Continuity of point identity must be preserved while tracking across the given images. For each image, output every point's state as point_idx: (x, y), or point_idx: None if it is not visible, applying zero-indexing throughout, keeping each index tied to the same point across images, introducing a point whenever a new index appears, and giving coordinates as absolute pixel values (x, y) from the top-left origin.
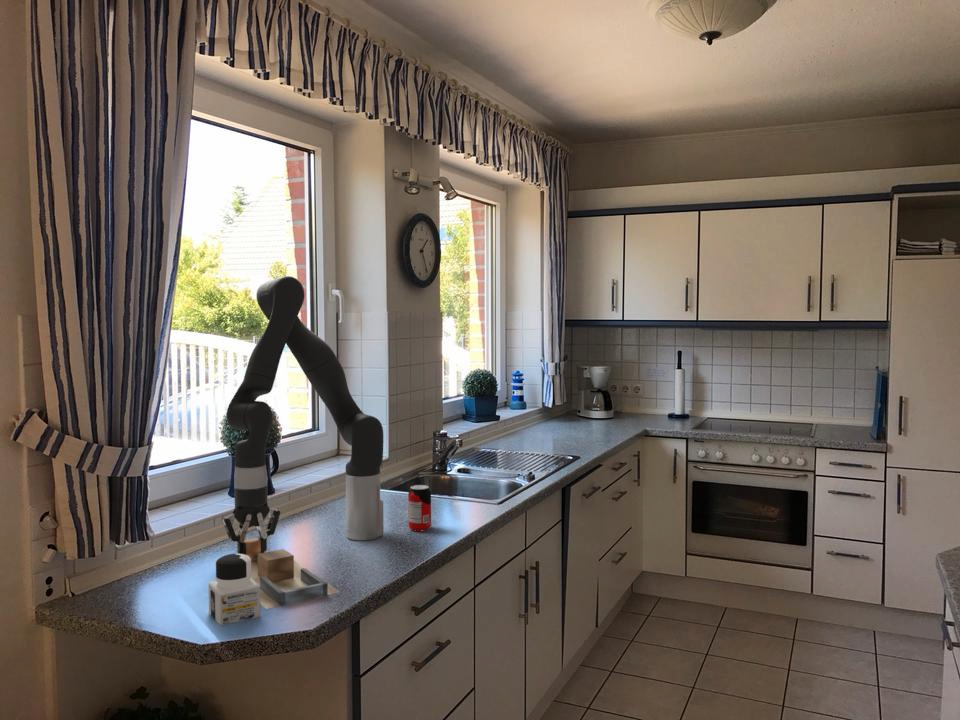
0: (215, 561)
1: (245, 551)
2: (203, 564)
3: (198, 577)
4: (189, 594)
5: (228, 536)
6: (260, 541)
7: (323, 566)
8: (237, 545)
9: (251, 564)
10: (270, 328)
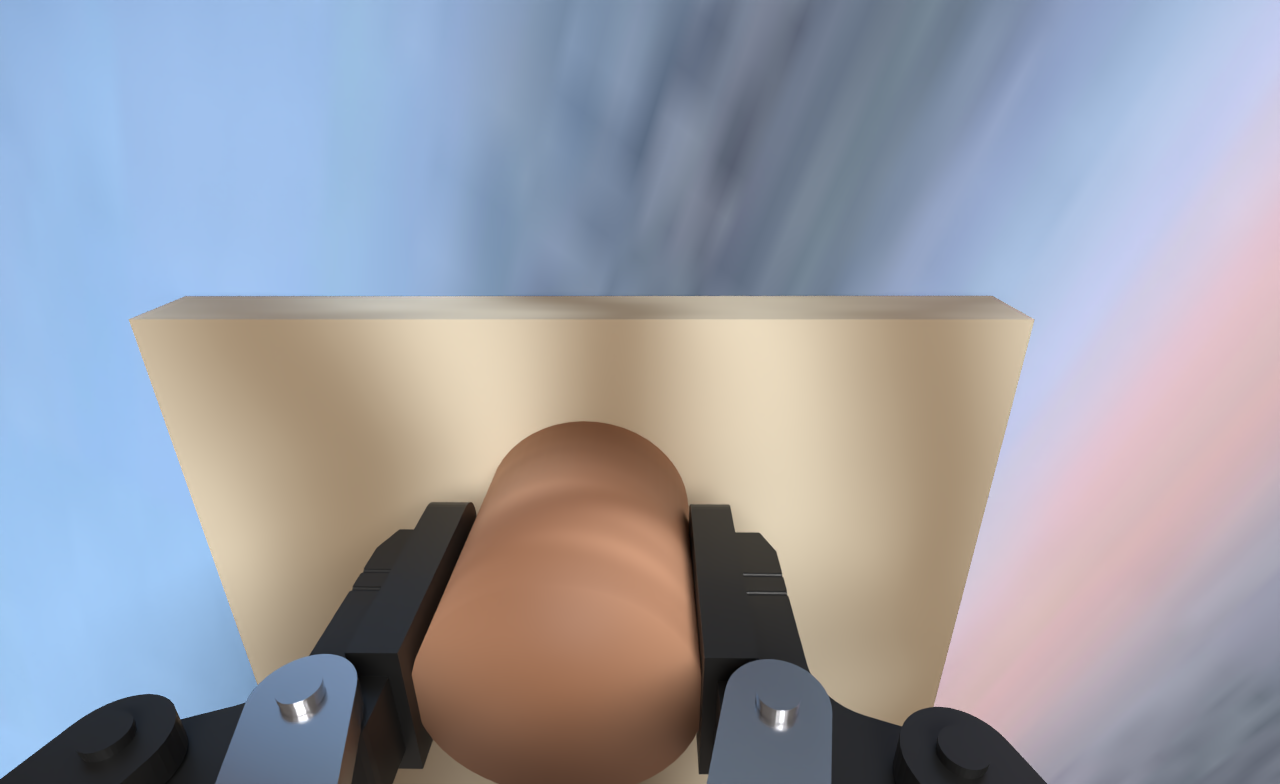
0: (159, 327)
1: None
2: (52, 69)
3: (49, 490)
4: None
5: (37, 767)
6: (675, 753)
7: (1087, 775)
8: (330, 630)
9: None
10: None
